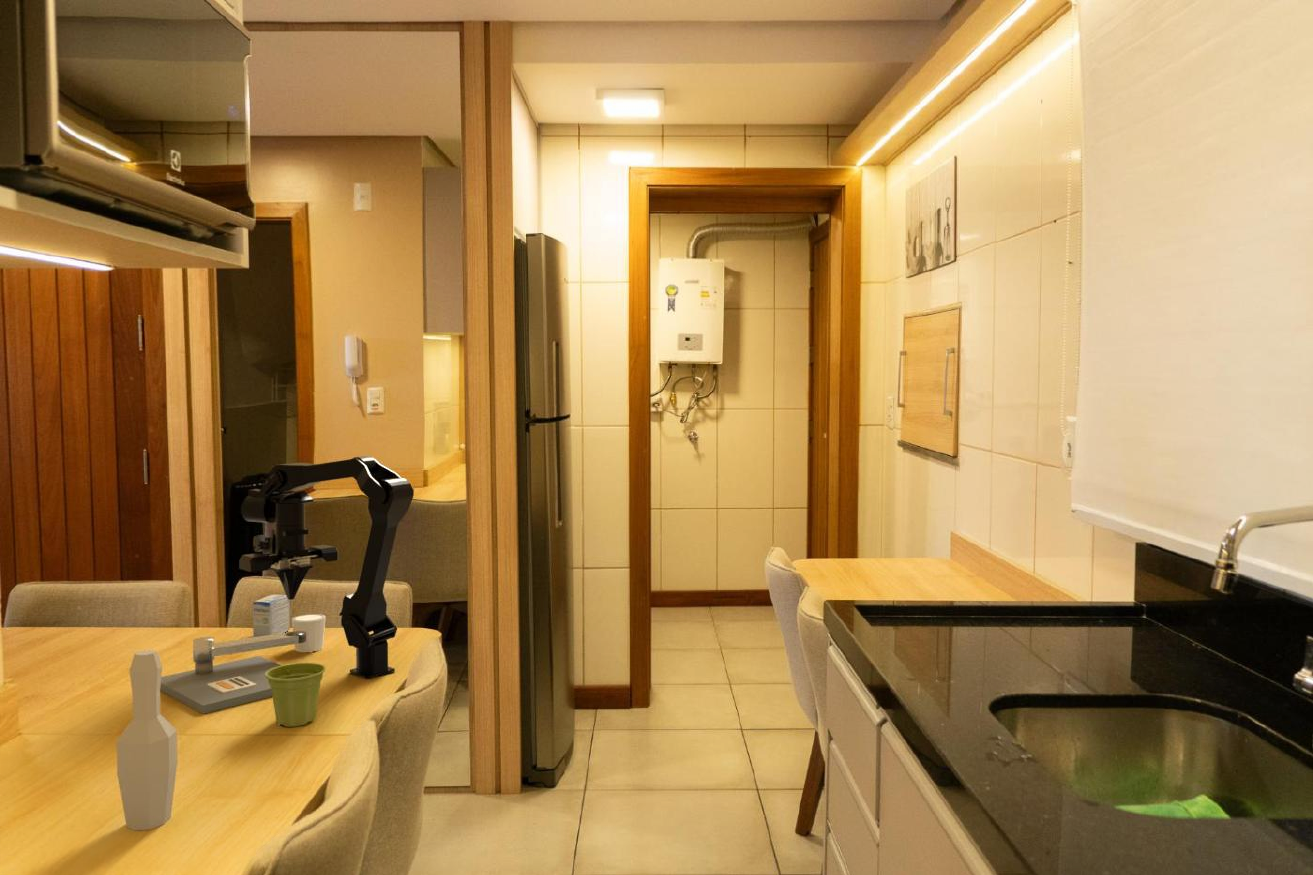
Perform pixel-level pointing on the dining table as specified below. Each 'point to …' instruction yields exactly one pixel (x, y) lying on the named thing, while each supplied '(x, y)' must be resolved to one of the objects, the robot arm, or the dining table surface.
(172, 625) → the dining table surface
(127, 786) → the low poly bottle
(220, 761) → the dining table surface
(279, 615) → the medicine box
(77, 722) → the dining table surface
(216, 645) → the swing arm
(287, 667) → the plant pot
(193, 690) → the label board
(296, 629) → the white cup
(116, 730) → the dining table surface
